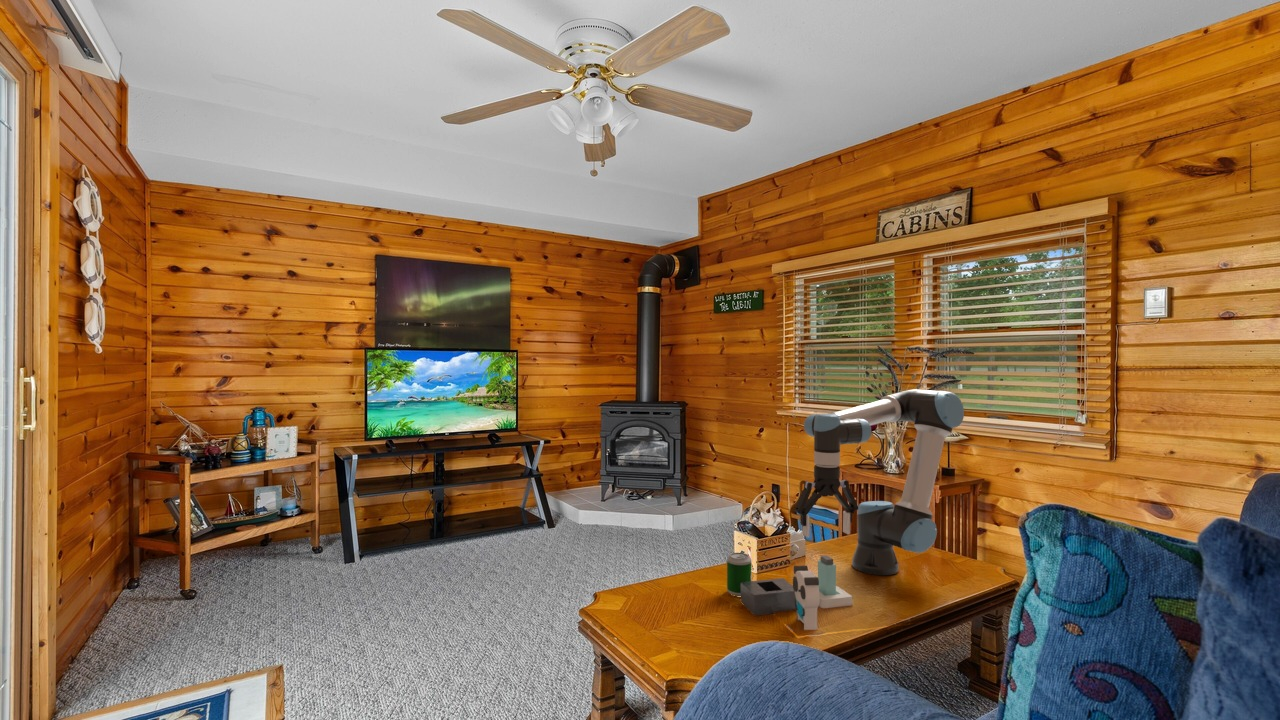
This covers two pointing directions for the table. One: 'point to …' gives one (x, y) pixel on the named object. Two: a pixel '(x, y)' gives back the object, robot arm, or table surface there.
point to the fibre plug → (827, 576)
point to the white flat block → (835, 599)
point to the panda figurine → (806, 597)
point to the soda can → (737, 572)
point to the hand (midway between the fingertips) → (826, 534)
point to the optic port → (768, 596)
